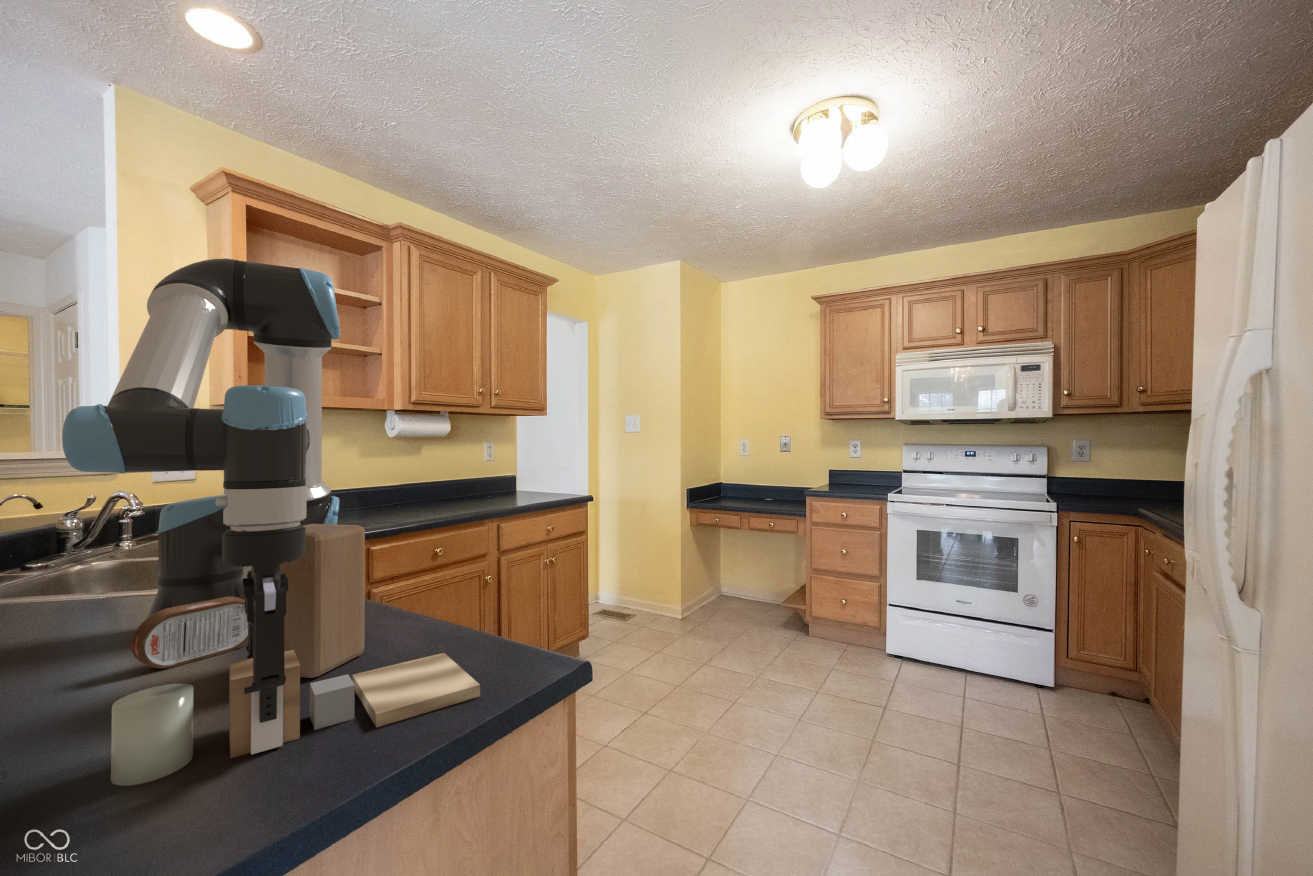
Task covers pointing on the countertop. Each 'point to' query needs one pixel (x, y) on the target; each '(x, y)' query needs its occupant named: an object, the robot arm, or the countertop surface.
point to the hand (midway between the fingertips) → (264, 733)
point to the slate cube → (332, 701)
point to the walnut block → (242, 703)
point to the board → (413, 688)
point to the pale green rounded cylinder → (151, 734)
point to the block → (326, 598)
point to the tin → (191, 632)
